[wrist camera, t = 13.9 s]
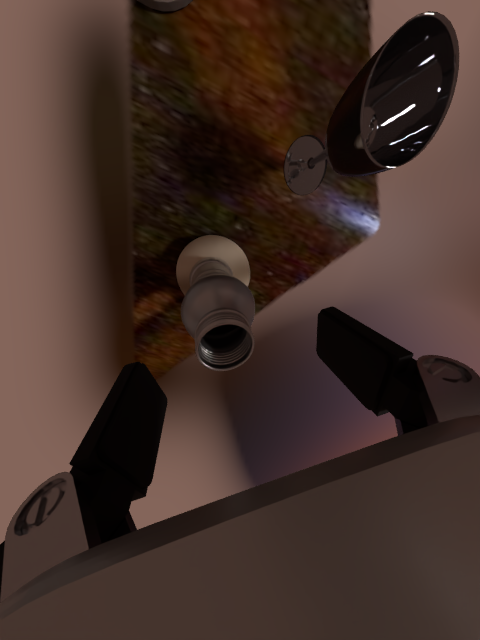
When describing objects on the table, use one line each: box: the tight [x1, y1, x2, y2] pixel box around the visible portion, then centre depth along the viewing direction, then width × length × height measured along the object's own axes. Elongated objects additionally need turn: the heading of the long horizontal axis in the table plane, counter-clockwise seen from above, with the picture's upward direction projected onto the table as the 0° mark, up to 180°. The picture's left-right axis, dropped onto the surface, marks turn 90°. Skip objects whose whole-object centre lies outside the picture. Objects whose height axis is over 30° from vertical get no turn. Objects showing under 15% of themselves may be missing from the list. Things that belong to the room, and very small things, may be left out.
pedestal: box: [176, 235, 250, 295], centre depth 29 cm, size 12×12×3 cm
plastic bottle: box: [181, 257, 255, 371], centre depth 19 cm, size 6×7×20 cm
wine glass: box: [284, 11, 459, 195], centre depth 20 cm, size 8×8×15 cm
